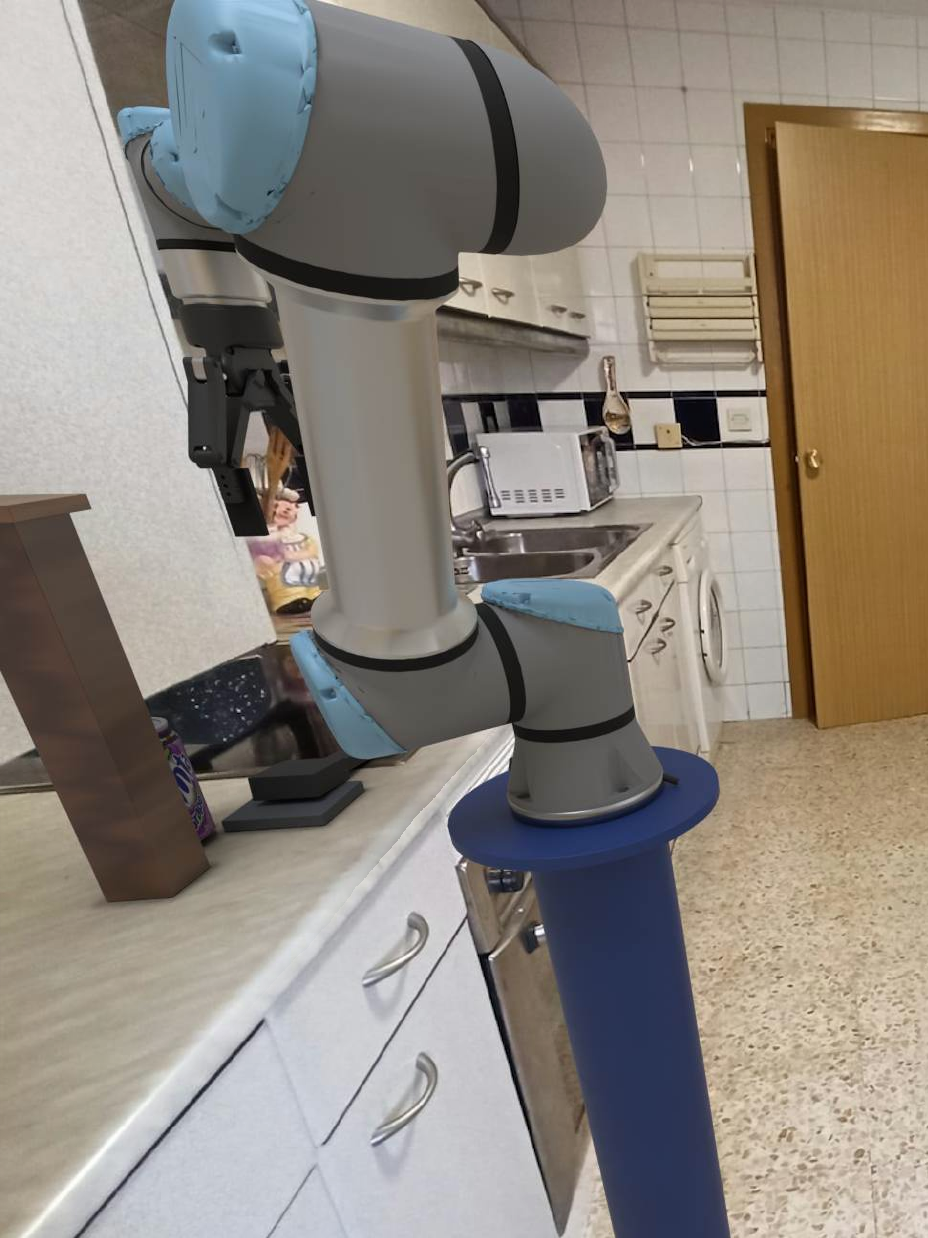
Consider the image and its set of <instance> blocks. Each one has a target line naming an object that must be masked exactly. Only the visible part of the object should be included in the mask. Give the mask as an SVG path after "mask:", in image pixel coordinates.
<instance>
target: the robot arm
mask: <svg viewBox="0 0 928 1238" xmlns="http://www.w3.org/2000/svg"><path fill="white" fill-rule="evenodd" d="M173 1H174V2H173V4H172V6H171V10H170V15H169V18H168V22H167V28H166V42H165V43H166V44H165V74H166V86H167V97H168V107H169V108H166V107H157V106H143V105H141V106H140V105H139V106H134V107H124V108H123V109H121V110H120V111H119V112H118V114H117V117H116V119H117V120H116V121H117V124H118V129H119V132H120V136H121V139H122V140H121V141H122V144H123V147H122V151H123V154H124V157H125V159H126V160H127V161H128V164H129V167H130V169H131V172H132V175H133V178H134V180H135V184H136V186H137V189H138V193H139V195H140V198H141V201H142V205H143V207H144V211H145V213H146V216H147V219H148V222H149V225H150V228H151V230H152V233H153V236H154V240H155V244H156V248H157V250H158V252H159V256H160V259H161V262H162V271H163V273H164V274H165V275H166V278H167V281H168V284H169V285H168V286H169V288H170V291H171V294H172V296H173V297H175V298H176V299H178V300H182V302H183V304H180V305H178V308H176V311H177V315H178V318H179V321H180V325H181V327H182V330H183V334H184V337H185V340H186V342H187V343H188V344H189V345H190V346H191V347H193V348H196V349H204V352H205V356H183V357H182V366H183V370H184V375H185V377H186V381H187V455H188V459H189V460H190V461H191V463H192V464H195V465H196V467H197V468H199V469H205V470H207V469H211V470H212V473H213V475H214V478H215V482H216V485H217V487H218V492H219V494H220V497H221V499H222V501H223V504H224V507H225V510H226V513H227V516H228V519H229V522H230V525H231V528H232V531H233V535H234V537H235V538H244V537H245V538H246V537H249V538H250V537H268V536H270V531H269V528H268V525H267V521H266V518H265V515H264V512H263V508H262V506H261V502H260V499H259V495H258V493H257V490H256V486H255V483H254V480H253V477H252V474H251V470H250V467H241V465H242V460H243V454H244V449H245V444H246V439H247V434H248V428H249V422H250V416H251V413H252V412H254V411H256V410H257V408H258V409H260V410H263V411H264V412H265V413H266V414H267V415H268V417H269V418H270V419H271V420H272V422H273V423H274V424H275V425H276V426H277V429H279V430H280V432H281V433H282V434H283V436H284V437H285V438H286V439H287V441H289V443H290V444H291V445H292V447H293V448H294V449H295V450H296V452H297V453H298V454H299V455H297V456H293V457H294V458H293V459H294V461H295V464H296V468H297V472H298V475H299V478H300V481H301V486H302V489H303V492H304V495H305V498H306V499H305V500H306V502H307V506H308V509H309V513H310V516H311V517H315V519H316V525H317V530H318V534H319V542H320V548H321V553H322V558H323V564H324V568H325V574H326V575H325V576H326V580H327V585H328V586H327V587H328V588H327V589H326V590H324V591H323V592H322V593H320V595H318V596H317V597H316V599H315V600H314V602H313V604H312V606H311V608H310V621H311V626H312V627H311V628H312V629H301V631H299V632H296V633H294V634H292V635H290V637H289V639H288V644H289V648H290V651H291V655H292V656H293V659H294V661H295V664H296V665H297V668H298V670H299V672H300V674H301V676H302V679H303V680H304V683H305V684H306V686H307V689H308V691H309V692H310V694H311V696H312V699H313V700H314V702H315V704H316V706H317V708H318V710H319V712H320V714H321V716H322V718H323V719H324V721H325V723H326V725H327V727H328V729H329V730H330V732H331V734H332V736H333V737H334V739H335V741H336V742H337V744H338V745H339V746H340V748H341V749H343V750H344V751H345V752H346V753H347V754H348V755H350V756H352V757H355V758H359V759H369V760H372V759H378V758H383V757H387V756H392V755H393V756H394V755H398V754H401V755H403V754H407V753H410V751H414V750H417V749H418V750H419V749H421V748H425V747H428V746H432V745H436V744H439V743H443V742H447V741H450V740H454V739H457V738H461V737H464V736H469V735H472V734H476V733H480V732H484V731H487V730H491V729H495V728H499V727H502V726H506V725H507V726H508V725H510V724H511V727H512V731H513V736H514V743H513V749H512V756H511V757H509V760H508V761H509V762H508V769H507V771H509V770H510V769H511V770H510V776H509V783H508V791H507V798H508V802H509V806H510V811H511V814H512V815H513V817H514V818H516V819H517V820H518V821H520V822H522V823H524V824H527V825H531V826H535V827H541V828H553V829H565V828H578V827H586V826H592V825H597V824H602V823H606V822H609V821H613V820H616V819H619V818H622V817H625V816H628V815H630V814H632V813H635V812H637V811H639V810H641V809H643V808H644V807H646V806H648V805H649V804H651V803H652V802H653V801H654V800H656V799H657V798H658V797H659V796H660V794H661V793H662V792H663V790H664V787H665V782H668V783H671V784H674V785H677V784H678V781H679V778H676V777H673V776H670V775H667V774H664V773H663V769H662V766H661V764H660V762H659V760H658V758H657V756H656V754H655V753H654V751H653V749H652V747H651V746H652V745H651V743H650V742H649V740H648V738H647V736H646V735H645V733H644V731H643V729H642V727H641V725H640V724H639V722H638V719H637V715H636V707H635V703H634V694H633V689H632V683H631V676H630V670H629V663H628V657H627V651H626V644H625V643H626V642H625V638H624V634H625V628H624V627H623V625H622V620H621V616H620V612H619V608H618V605H617V601H616V598H615V596H614V595H613V594H612V592H611V591H610V590H608V589H607V588H605V587H604V586H602V585H599V584H596V583H592V582H587V581H582V580H576V579H575V580H573V579H562V578H541V577H539V578H538V577H537V578H536V577H531V578H530V577H526V578H524V577H523V578H507V579H499V580H495V581H489V582H487V583H485V584H483V586H482V587H481V593H480V594H479V596H480V600H482V601H480V602H476V603H474V602H473V600H472V599H471V598H470V597H469V595H467V594H466V593H465V592H463V590H461V589H459V588H457V587H456V578H455V577H456V575H455V564H454V549H453V536H452V535H453V534H452V523H451V508H450V495H449V482H448V481H449V480H448V468H447V467H448V466H447V454H446V442H445V427H444V426H445V425H444V414H443V412H444V411H443V400H442V398H443V397H442V386H441V384H442V383H441V373H440V356H439V343H438V331H437V330H438V329H437V317H436V315H437V314H436V311H437V309H439V308H440V307H441V306H443V305H444V304H446V303H447V302H449V301H450V300H452V299H453V298H455V296H456V295H457V294H458V293H459V291H460V268H459V255H460V253H465V254H466V253H468V254H482V255H492V256H493V255H494V256H496V255H501V256H517V257H527V256H539V255H540V256H541V255H547V254H551V253H557V252H560V251H562V250H566V249H568V248H571V247H573V246H575V245H577V244H579V242H581V241H583V240H584V239H586V238H587V236H588V235H589V234H591V232H592V231H593V230H594V229H595V228H596V225H597V224H598V223H599V221H600V218H601V217H602V214H603V213H604V208H605V205H606V203H607V194H608V179H607V175H608V174H607V168H606V164H605V160H604V157H603V152H602V149H601V146H600V144H599V141H598V139H597V137H596V134H595V133H594V130H593V129H592V127H591V125H590V124H589V122H588V120H587V119H586V117H585V116H584V114H583V112H581V110H580V109H579V107H578V106H577V104H576V103H574V101H573V100H572V99H571V97H570V96H569V95H568V94H567V93H566V92H564V91H563V90H562V89H561V88H560V87H559V86H558V85H557V84H556V83H555V82H554V81H553V80H552V79H551V78H550V77H548V76H547V75H546V74H544V73H543V72H541V70H538V69H537V68H535V67H534V66H532V65H531V64H529V63H528V62H526V61H524V60H523V59H522V58H520V57H518V56H515V55H513V54H511V53H509V52H507V51H505V50H502V49H500V48H498V47H496V46H493V45H489V44H486V43H483V42H479V41H475V40H471V39H463V38H459V37H455V36H451V35H447V34H443V33H441V32H440V33H439V32H437V31H432V30H429V29H425V28H421V27H418V26H414V25H410V24H406V23H403V22H400V21H396V20H391V19H388V18H385V17H380V16H377V15H373V14H369V13H367V12H362V11H358V10H354V9H351V8H347V7H344V6H340V5H336V4H333V3H328V2H327V1H326V2H325V1H322V0H173ZM268 283H269V284H270V285H271V286H272V287H273V289H274V295H275V300H276V305H277V311H278V316H279V317H277V313H276V312H274V311H273V309H272V308H268V306H267V304H269V303H271V302H272V301H273V298H272V295H271V291H270V288H269V285H268ZM278 318H279V319H278ZM278 320H279V321H278ZM279 322H280V324H279ZM280 327H281V328H280ZM282 348H284V349H285V354H286V359H275V357H274V355H273V354H272V350H282ZM664 781H665V782H664Z"/></svg>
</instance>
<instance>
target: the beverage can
mask: <svg viewBox="0 0 928 1238" xmlns="http://www.w3.org/2000/svg"><path fill="white" fill-rule="evenodd" d="M151 719H152V721H153V724H154V726H155V729H156V731H157V734H158V736H159V739H160V741H161V744H162V746H163V749H164V751H165V754H166V756H167V759H168V761H169V764H170V766H171V769H172V771H173V774H174V776H175V779H176V781H177V784H178V786H179V789H180V791H181V794H182V796H183V799H184V801H185V804H186V806H187V809H188V811H189V814H190V816H191V819H192V821H193V824H194V826H195V829H196V831H197V834H198V836H199V839H200V841H201V842H202V841H203V840H204V839H205V838H207V837H208V836H210V835H211V834H212V833H213V832H214V831H215V829H216V824H215V821H214V818H213V815H212V813H211V810H210V808H209V806H208V803H207V801H206V798H205V795H204V793H203V791H202V788H201V786H200V783H199V780H198V778H197V775H196V773H195V770H194V767H193V765H192V762H191V760H190V757H189V755H188V752H187V749H186V747H185V745H184V742H183V740H182V738H181V736H180V735H179V734H178V733H177V732H176V731H175V730H173V729H172V728H171V727H170V726H169V722H168V720H167V719H166V718H164V717H159V716H158V717H157V716H151Z"/></svg>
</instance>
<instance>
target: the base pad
mask: <svg viewBox="0 0 928 1238" xmlns="http://www.w3.org/2000/svg"><path fill="white" fill-rule="evenodd" d="M364 791H365V787H364V784H363V780H347V781H345V782H343V783H342V784H340V785H338V786H337V787H335V788H333V789H331V790H330V791H328V792H326V793H324V794H323V795H321V796H319V797H312V798H295V799H279V800H263V801H253V798H250V800H248V801H247V802H246V803H243V805H242V806H240V807H239V808H238V809H237V808H236V810H235V811H233V812H231V813H230V814H229V815H227V816H226V817H224V819H222V820H221V821H220V823H221V826H222V829H223V831H224V832H225V833H228V832H243V831H258V830H274V829H275V830H276V829H291V828H305V827H320V826H326V825H328V823H329V822H330V821H332V820H333V819H334V818H335V817H336V816H337V815H338V814H340V812H342V811H343V810H344V809H345V808H346V807H347V806H348V805H350V804H351V803H352V802H353V801H354V800H355V799H357V798H358V796H360V795H361V794H362V793H363V792H364Z"/></svg>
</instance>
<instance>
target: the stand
mask: <svg viewBox="0 0 928 1238" xmlns="http://www.w3.org/2000/svg"><path fill="white" fill-rule="evenodd" d="M89 510H92V506H91V503H90V500H89V498H88V495H87V493H31V494H30V493H26V494H25V493H24V494H23V493H22V494H0V674H1V676H2V678H3V681H4V682H5V684H6V687H7V689H8V691H9V693H10V695H11V697H12V699H13V702H14V704H15V706H16V708H17V711H18V712H19V716H20V718H21V719H22V721H23V724H24V726H25V728H26V731H27V733H28V734H29V736H30V739H31V741H32V744H33V745H34V747H35V749H36V752H37V754H38V756H39V758H40V760H41V762H42V765H43V767H44V769H45V771H46V774H47V776H48V777H49V780H50V782H51V785H52V786H53V788H54V791H55V793H56V795H57V797H58V799H59V801H60V804H61V805H62V808H63V810H64V812H65V814H66V817H67V819H68V821H69V823H70V825H71V827H72V829H73V832H74V834H75V837H76V838H77V840H78V842H79V845H80V847H81V849H82V851H83V853H84V856H85V857H86V859H87V862H88V864H89V866H90V868H91V870H92V872H93V875H94V878H95V879H96V881H97V884H98V886H99V888H100V890H101V892H102V894H103V896H104V899H105V901H106V902H107V903H109V902H110V903H111V902H112V903H113V902H125V901H138V900H152V899H153V900H154V899H165V898H166V899H167V898H173V897H174V896H176V895H177V894H178V893H179V892H181V891H182V890H184V888H185V887H187V886H189V884H191V883H192V882H193V881H195V880H196V879H197V878H199V876H201V875H203V874H204V873H205V872H206V871H207V870H209V869H210V868H211V866H212V865H211V864H210V861H209V859H208V857H207V853H206V851H205V849H204V847H203V844H202V840H201V841H200V839H199V836H198V834H197V831H196V829H195V826H194V824H193V821H192V819H191V816H190V814H189V811H188V809H187V806H186V804H185V801H184V799H183V796H182V794H181V791H180V789H179V786H178V784H177V781H176V779H175V776H174V774H173V771H172V769H171V766H170V764H169V761H168V759H167V756H166V754H165V751H164V749H163V746H162V744H161V741H160V739H159V736H158V734H157V731H156V729H155V726H154V724H153V721H152V719H151V717H152V716H151V713H150V711H149V708H148V706H147V704H146V701H145V698H144V696H143V694H142V691H141V689H140V687H139V684H138V681H137V680H136V676H135V674H134V672H133V669H132V666H131V664H130V661H129V658H128V657H127V653H126V651H125V649H124V646H123V644H122V641H121V638H120V636H119V633H118V632H117V628H116V626H115V624H114V621H113V618H112V616H111V614H110V611H109V607H108V605H107V604H106V601H105V599H104V596H103V594H102V591H101V589H100V587H99V586H100V585H99V584H98V581H97V578H96V576H95V574H94V571H93V568H92V567H91V564H90V561H89V558H88V555H87V553H86V551H85V549H84V546H83V543H82V541H81V538H80V536H79V534H78V530H77V529H76V526H75V524H74V521H73V519H72V516H71V514H73V513H77V512H83V511H84V512H85V511H89Z"/></svg>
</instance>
